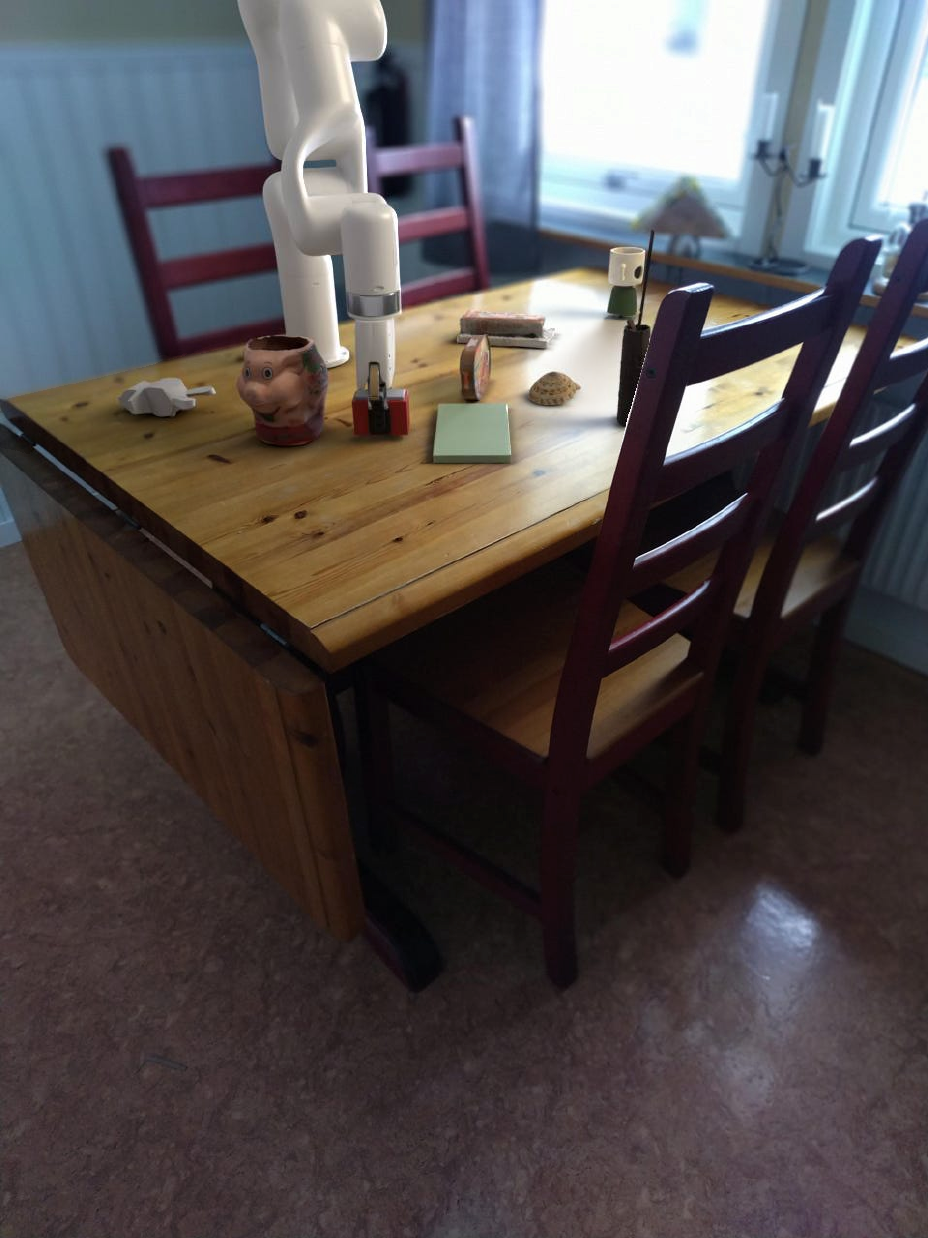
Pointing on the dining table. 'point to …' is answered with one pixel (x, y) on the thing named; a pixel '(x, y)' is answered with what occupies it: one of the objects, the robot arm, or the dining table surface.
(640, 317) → the butter churn
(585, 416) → the dining table surface
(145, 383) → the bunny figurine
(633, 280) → the character mug
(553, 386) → the seashell
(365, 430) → the red rectangular block
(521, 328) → the packaged product
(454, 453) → the board
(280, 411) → the decorative planter
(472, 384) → the tin
